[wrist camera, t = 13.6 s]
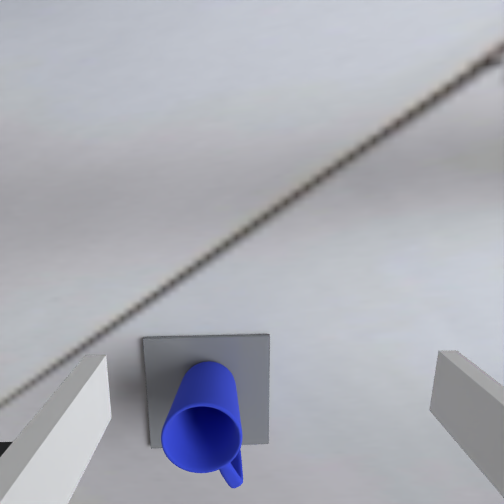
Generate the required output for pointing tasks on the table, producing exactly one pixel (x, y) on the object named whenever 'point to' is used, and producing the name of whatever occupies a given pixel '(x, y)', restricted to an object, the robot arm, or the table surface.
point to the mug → (205, 424)
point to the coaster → (216, 350)
